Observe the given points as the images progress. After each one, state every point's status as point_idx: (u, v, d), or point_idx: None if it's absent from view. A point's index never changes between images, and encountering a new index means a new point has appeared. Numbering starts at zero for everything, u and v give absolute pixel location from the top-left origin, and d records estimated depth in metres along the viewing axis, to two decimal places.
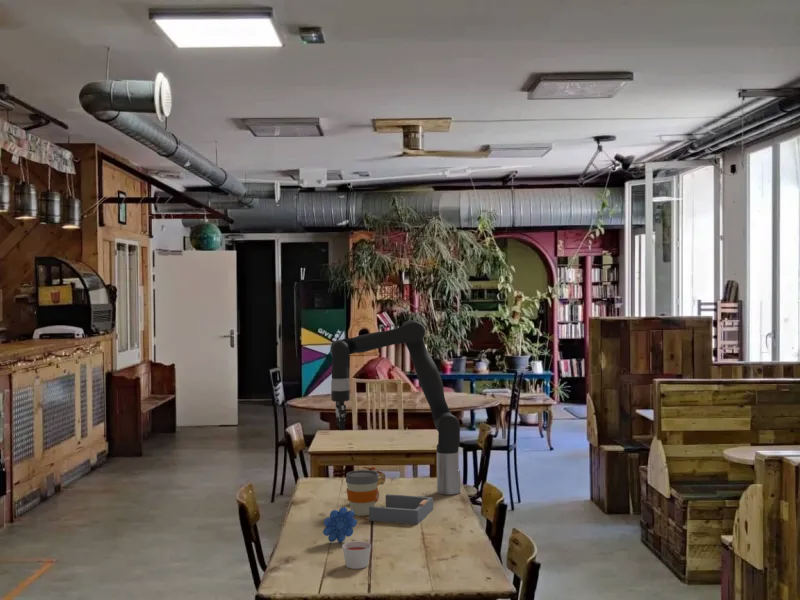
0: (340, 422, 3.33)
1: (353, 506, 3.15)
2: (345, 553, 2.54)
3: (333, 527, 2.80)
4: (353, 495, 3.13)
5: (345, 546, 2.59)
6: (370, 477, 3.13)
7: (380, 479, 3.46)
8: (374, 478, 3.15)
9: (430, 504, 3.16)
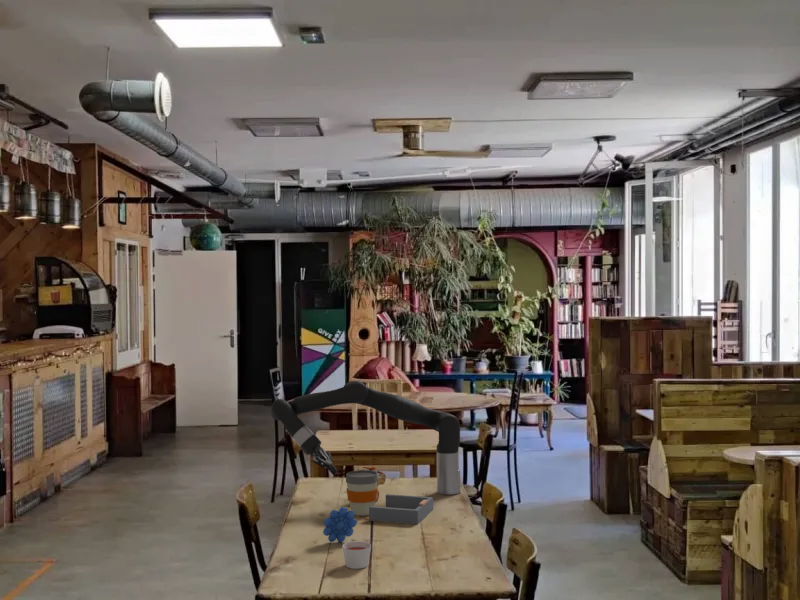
0: (328, 468, 3.21)
1: (353, 506, 3.15)
2: (345, 553, 2.54)
3: (333, 527, 2.80)
4: (353, 495, 3.13)
5: (345, 546, 2.59)
6: (370, 477, 3.13)
7: (380, 479, 3.46)
8: (374, 478, 3.15)
9: (430, 504, 3.16)
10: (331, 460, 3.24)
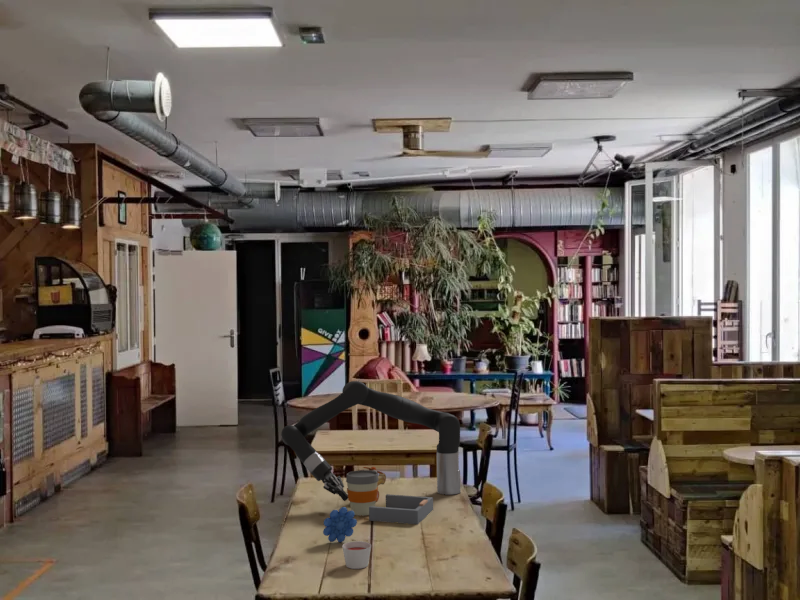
0: (339, 494, 3.20)
1: (353, 506, 3.15)
2: (345, 553, 2.54)
3: (333, 527, 2.80)
4: (353, 495, 3.13)
5: (345, 546, 2.59)
6: (370, 477, 3.13)
7: (380, 479, 3.46)
8: (374, 478, 3.15)
9: (430, 504, 3.16)
10: (342, 486, 3.23)
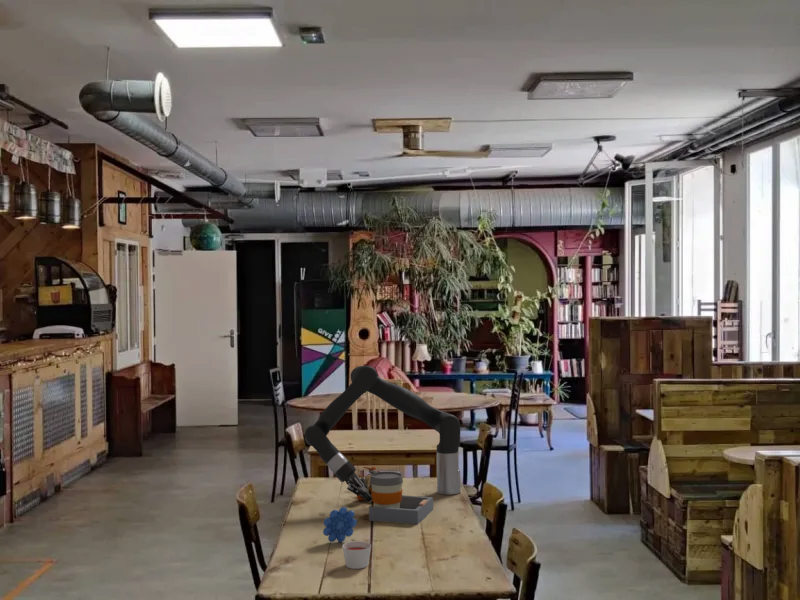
0: (363, 496, 3.17)
1: None
2: (345, 553, 2.54)
3: (333, 527, 2.80)
4: (378, 497, 3.10)
5: (345, 546, 2.59)
6: (396, 478, 3.10)
7: None
8: (400, 479, 3.12)
9: (430, 504, 3.16)
10: (366, 487, 3.20)
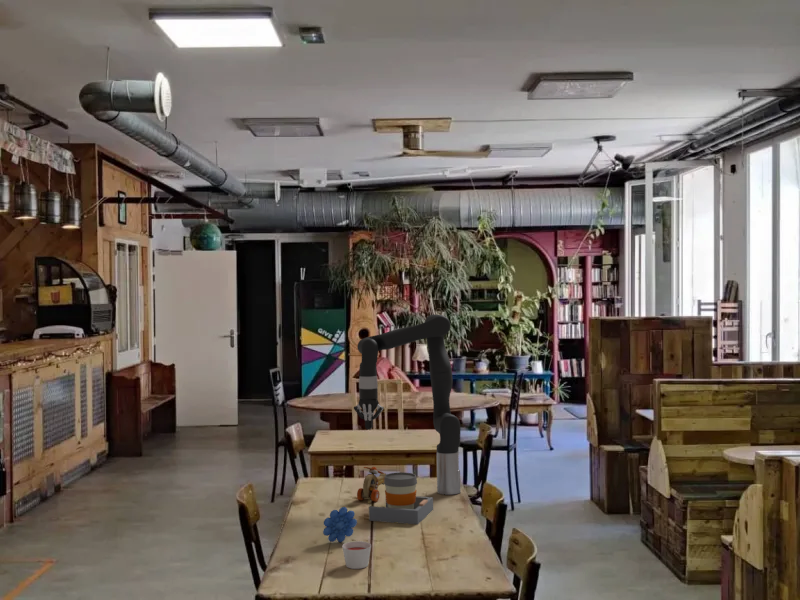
0: None
1: None
2: (345, 553, 2.54)
3: (333, 527, 2.80)
4: (393, 498, 3.08)
5: (345, 546, 2.59)
6: (410, 479, 3.09)
7: (381, 479, 3.46)
8: (414, 480, 3.10)
9: (430, 504, 3.16)
10: (372, 417, 3.34)
